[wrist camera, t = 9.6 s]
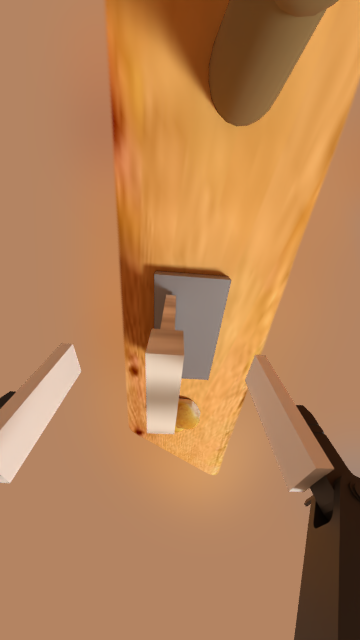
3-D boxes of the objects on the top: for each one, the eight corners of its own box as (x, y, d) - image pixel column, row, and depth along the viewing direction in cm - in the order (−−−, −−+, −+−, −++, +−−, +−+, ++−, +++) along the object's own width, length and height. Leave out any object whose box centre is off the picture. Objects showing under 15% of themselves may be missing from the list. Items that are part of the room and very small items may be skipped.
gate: (175, 367, 27) (173, 443, 18) (158, 366, 26) (147, 442, 17) (182, 295, 21) (184, 355, 12) (160, 294, 21) (145, 353, 11)
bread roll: (148, 405, 35) (144, 425, 32) (187, 391, 33) (188, 411, 30) (168, 425, 39) (167, 445, 35) (205, 414, 37) (207, 434, 33)
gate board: (155, 270, 21) (154, 274, 20) (228, 276, 22) (231, 280, 20) (155, 370, 30) (154, 376, 28) (207, 372, 30) (208, 379, 29)
